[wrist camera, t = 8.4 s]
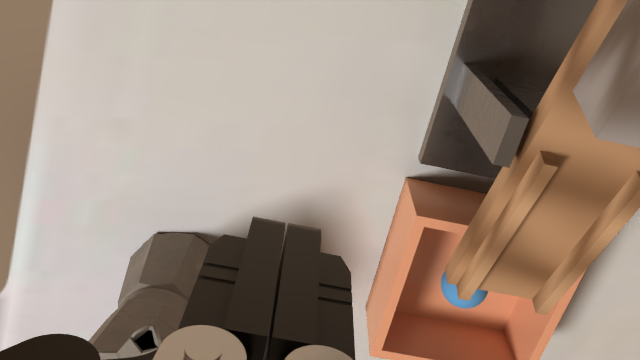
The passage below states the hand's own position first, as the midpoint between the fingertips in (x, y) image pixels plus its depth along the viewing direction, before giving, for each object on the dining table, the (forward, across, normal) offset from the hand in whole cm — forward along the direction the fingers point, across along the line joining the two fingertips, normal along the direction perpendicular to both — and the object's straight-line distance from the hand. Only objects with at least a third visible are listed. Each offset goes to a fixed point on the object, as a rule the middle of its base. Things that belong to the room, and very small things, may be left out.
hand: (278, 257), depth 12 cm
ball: (+28, -17, +18) cm, 38 cm away
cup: (+31, -17, +18) cm, 40 cm away
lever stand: (+31, -17, +2) cm, 35 cm away
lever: (+20, -17, +3) cm, 27 cm away
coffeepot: (+31, +8, +26) cm, 41 cm away
